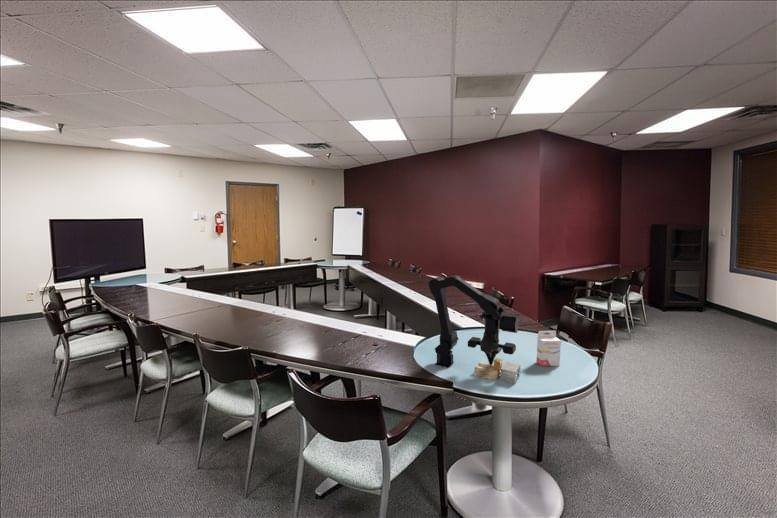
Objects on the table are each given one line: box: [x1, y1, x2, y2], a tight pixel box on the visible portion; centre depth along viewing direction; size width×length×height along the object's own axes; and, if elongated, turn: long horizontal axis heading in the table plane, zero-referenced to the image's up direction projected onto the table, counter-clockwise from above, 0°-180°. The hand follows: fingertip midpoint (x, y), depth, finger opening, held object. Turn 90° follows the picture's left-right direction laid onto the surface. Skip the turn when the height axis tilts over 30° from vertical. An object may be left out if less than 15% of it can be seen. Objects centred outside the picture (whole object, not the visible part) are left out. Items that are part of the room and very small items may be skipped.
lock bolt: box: [493, 357, 503, 375], centre depth 156 cm, size 8×3×5 cm, turn 59°
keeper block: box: [499, 361, 521, 385], centre depth 155 cm, size 6×8×5 cm
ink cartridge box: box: [536, 330, 562, 367], centre depth 167 cm, size 9×5×15 cm, turn 92°
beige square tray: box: [472, 361, 500, 381], centre depth 160 cm, size 10×10×3 cm
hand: (491, 364), depth 159 cm, fingers closed
